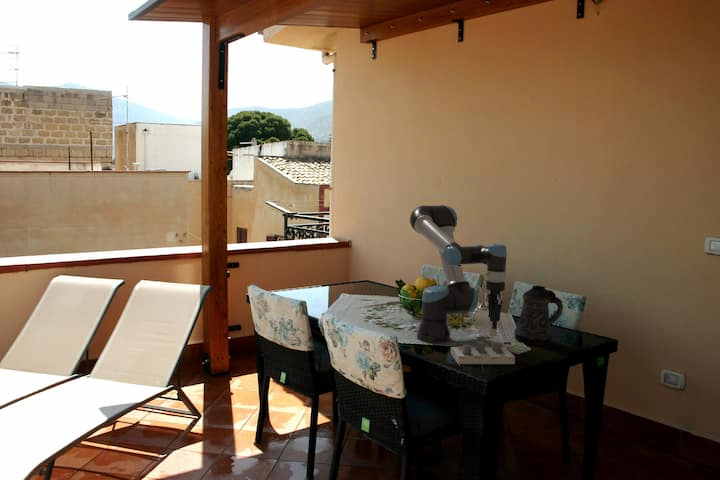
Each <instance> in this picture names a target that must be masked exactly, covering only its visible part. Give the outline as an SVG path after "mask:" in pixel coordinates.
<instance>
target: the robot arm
mask: <svg viewBox="0 0 720 480" xmlns="http://www.w3.org/2000/svg"><path fill="white" fill-rule="evenodd" d="M409 223H410V226H411V228H412V229H413V230H414V231H415V232H416V233H418V234H420V235H422V236H423V237H424V238H425V239H426V240H428V241H429V242H430V243H431V244H432V245H433V246H434V247H435V248H436V249H437V250H438V253H439V256H440V261H441V266H442V269H443V274H444V278H445V281H446V282H445V283H446V284H445V285H432V286H428V287H426V288H424V290H423V292H422V296H421V297H422V298H421V302H422V303H421V319H420V320H421V321H420V323H419V326H418V329H417V332H416V338H417V339H418V340H420V341H424V342H428V343H436V344H437V343H447V342H449V341H450V340H451V331H450V328H449V327H450V326H449V324H448V315H458V314H459V315H460V314H461V315H462V314H463V315H464V314H469V313H470V314H471V313H472V312H474V311H475V310H476V308H477V307H478V305H479V294H478V290H477V289H475V287H473V286H471V284H470V281H468V280H466V278H465V275H464V271H463V268H462V265H480V264H482V265H486V266H487V269H486V270H487V272H486V273H485V275H486V279H487V281H486V286H485V287H486V290H487V291H489V294H487V300H488V301H487V302H488V305H487V306H488V318H489V336H490V337H497V336H498V322H499V321H500V320H501V313H502V312H501V311H502V306H503V302H504V301H503V300H502V294H501V292H504V291H505V288H506V282H505V281H506V272H507V271H506V269H507V257H508V253H507V251H508V250H507V245H506V244H503V243H489V244H488V246H485V245H481V244H476V245H475V244H474V245H472V246H461V245H460V244H459V243H458V242H456V240H455V237H454V232H455V230H456V229H455V228H457V225H458V216H457V212H456V210H455V209H454V208H453V207H451V206H450V205H419V206H417V207H416V208H415V209H413V211H412V212H411V213H410V216H409ZM458 265H460V266H458Z"/></svg>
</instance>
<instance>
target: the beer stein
mask: <svg viewBox="0 0 720 480" xmlns="http://www.w3.org/2000/svg"><path fill="white" fill-rule="evenodd" d="M522 300H523V302H522V307H521V311H520V315H519V318H518V322H517V325H516V326H515V329H514V339H515V341H516V342H519V343H522V344H525V345H530V346H546V345H549V344H550V343H551V341H552V336H553V335H552V332H551V327H550V326H552V324H554V323H555V322H556V321H557V320H558V319H559V318H560V316H561V315H562V313H563V309H564V305H563V301H562V299H560V298H559V297H558V296H556V293H555V292H554V291H553V290H549V289H546V287H545V286H543V285H533V286H532V287H531V288H530V289H528V290H527V291H525V292H524V293H523V294H522ZM549 304H555V305H556V306H557V310H556V311H555V312H554V314H553V315H552V316H550V309H549Z"/></svg>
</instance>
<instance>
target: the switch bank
mask: <svg viewBox="0 0 720 480" xmlns="http://www.w3.org/2000/svg"><path fill="white" fill-rule="evenodd" d="M471 347H472V348H471V355H466V356H464V354H463V353H462V352H463V346H450V356H451V357H452V358H453V359H454V361H455V362H456V363H457V365H515V363H516V356H515V354H514V353H512V352H509V351H508V350H507V349H506V348H505V347H502V350H501V351H502V353H496V352H495V351H494V350H493V347H492V346H485V353H479V352H478V351H477V350H476V346H471Z"/></svg>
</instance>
